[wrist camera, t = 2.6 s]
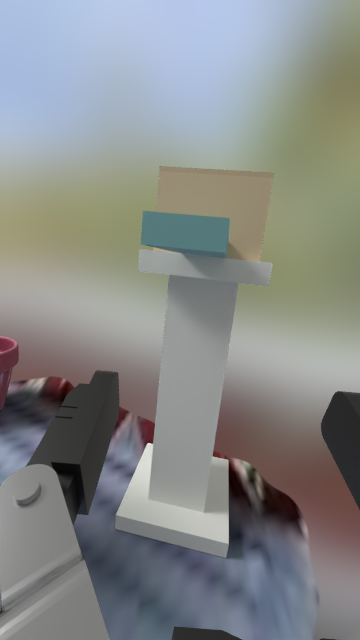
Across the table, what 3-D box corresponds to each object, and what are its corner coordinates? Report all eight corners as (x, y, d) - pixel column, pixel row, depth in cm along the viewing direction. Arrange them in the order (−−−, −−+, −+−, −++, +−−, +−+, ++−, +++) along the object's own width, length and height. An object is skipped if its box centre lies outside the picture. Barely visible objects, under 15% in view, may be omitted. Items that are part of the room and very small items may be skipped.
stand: (226, 558, 30) (279, 263, 23) (114, 528, 32) (132, 248, 25) (226, 470, 42) (261, 263, 35) (146, 453, 44) (164, 253, 37)
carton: (293, 259, 12) (331, 60, 10) (82, 238, 13) (86, 61, 12) (250, 262, 34) (260, 199, 32) (173, 254, 35) (178, 194, 34)
